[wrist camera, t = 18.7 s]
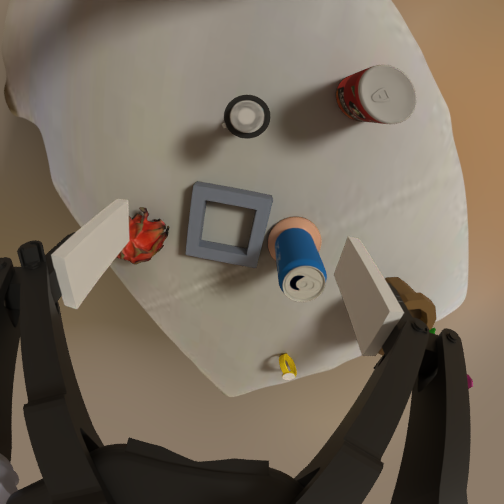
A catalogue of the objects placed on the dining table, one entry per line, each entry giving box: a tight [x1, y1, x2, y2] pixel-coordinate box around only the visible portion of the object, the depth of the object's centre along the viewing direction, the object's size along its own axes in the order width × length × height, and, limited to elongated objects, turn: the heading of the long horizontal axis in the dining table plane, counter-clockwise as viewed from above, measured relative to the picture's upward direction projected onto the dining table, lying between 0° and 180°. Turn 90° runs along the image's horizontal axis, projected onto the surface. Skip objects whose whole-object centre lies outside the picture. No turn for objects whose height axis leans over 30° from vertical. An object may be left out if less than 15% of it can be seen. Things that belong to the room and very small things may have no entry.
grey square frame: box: [186, 181, 273, 268], centre depth 43 cm, size 12×12×2 cm
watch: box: [279, 353, 297, 380], centre depth 57 cm, size 6×3×6 cm, turn 34°
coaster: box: [268, 217, 321, 260], centre depth 45 cm, size 9×9×1 cm
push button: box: [222, 95, 270, 138], centre depth 32 cm, size 7×5×10 cm
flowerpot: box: [378, 277, 473, 389], centre depth 38 cm, size 14×14×30 cm
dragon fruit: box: [117, 207, 169, 264], centre depth 42 cm, size 8×8×12 cm
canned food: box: [336, 65, 416, 124], centre depth 29 cm, size 8×8×11 cm
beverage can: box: [275, 228, 327, 302], centre depth 40 cm, size 6×6×12 cm
